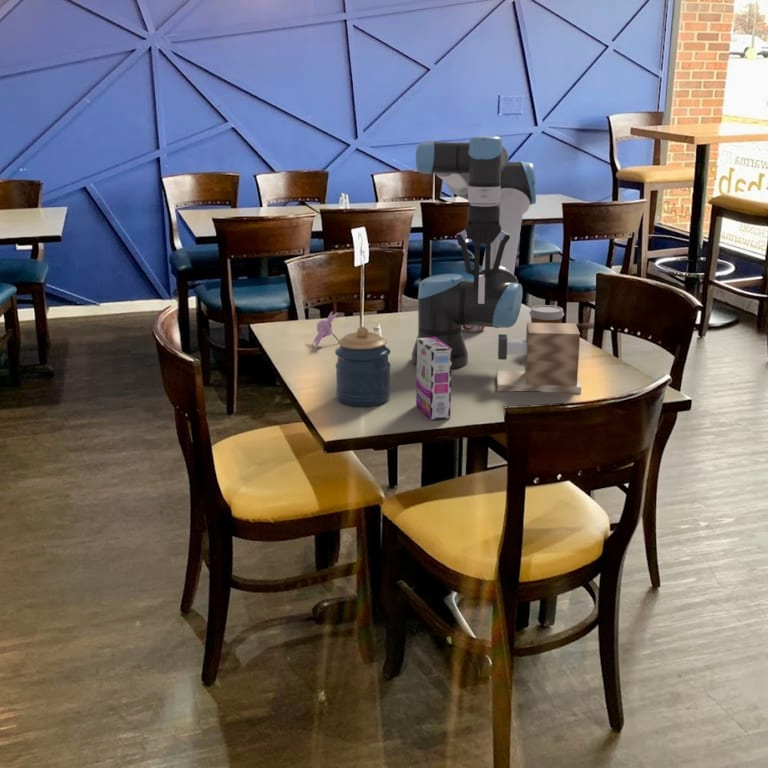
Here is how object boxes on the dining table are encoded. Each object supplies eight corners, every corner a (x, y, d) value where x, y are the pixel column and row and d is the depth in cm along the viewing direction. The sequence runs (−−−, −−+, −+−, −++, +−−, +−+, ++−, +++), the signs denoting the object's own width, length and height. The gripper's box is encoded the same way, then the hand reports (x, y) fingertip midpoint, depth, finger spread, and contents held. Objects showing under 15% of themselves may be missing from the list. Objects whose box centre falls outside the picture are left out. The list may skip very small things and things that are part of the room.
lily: (321, 340, 272) (305, 315, 268) (356, 327, 268) (340, 301, 264) (314, 363, 263) (298, 337, 258) (350, 350, 259) (334, 324, 254)
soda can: (486, 333, 275) (487, 293, 272) (462, 333, 275) (463, 293, 272) (483, 327, 282) (485, 288, 278) (461, 327, 282) (461, 288, 278)
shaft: (498, 359, 224) (498, 339, 223) (497, 353, 229) (498, 334, 228) (562, 360, 223) (563, 340, 222) (560, 355, 228) (561, 335, 226)
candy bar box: (452, 419, 205) (453, 348, 200) (430, 421, 204) (431, 350, 199) (435, 403, 215) (436, 335, 210) (415, 405, 214) (415, 337, 209)
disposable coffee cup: (552, 357, 251) (554, 314, 247) (521, 351, 256) (523, 309, 253) (568, 349, 258) (570, 307, 254) (537, 344, 263) (539, 303, 260)
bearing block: (497, 391, 223) (499, 333, 219) (496, 376, 235) (498, 321, 230) (581, 393, 222) (584, 335, 217) (575, 378, 233) (579, 322, 228)
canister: (401, 401, 217) (401, 328, 211) (354, 411, 210) (352, 337, 205) (371, 386, 227) (371, 317, 222) (326, 396, 221) (324, 325, 215)
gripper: (455, 206, 213) (453, 305, 220) (512, 206, 211) (508, 306, 219) (456, 202, 220) (454, 298, 227) (511, 202, 219) (507, 299, 226)
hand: (481, 302), depth 223 cm, fingers closed
